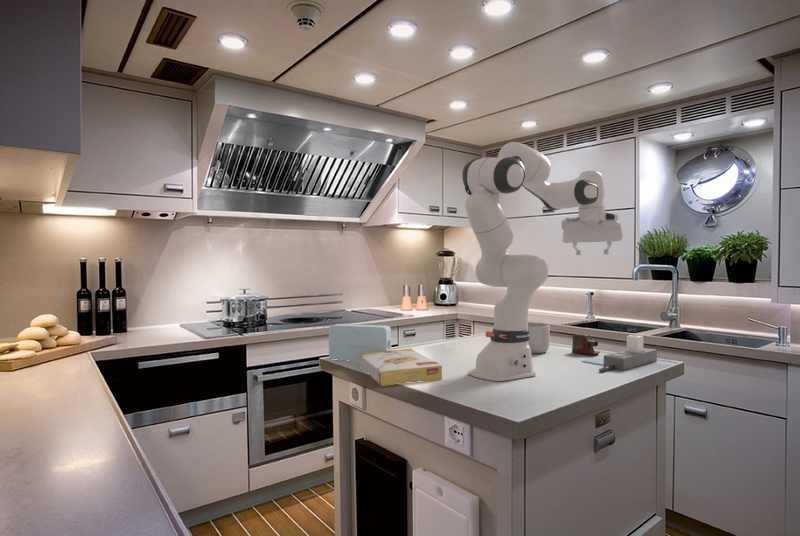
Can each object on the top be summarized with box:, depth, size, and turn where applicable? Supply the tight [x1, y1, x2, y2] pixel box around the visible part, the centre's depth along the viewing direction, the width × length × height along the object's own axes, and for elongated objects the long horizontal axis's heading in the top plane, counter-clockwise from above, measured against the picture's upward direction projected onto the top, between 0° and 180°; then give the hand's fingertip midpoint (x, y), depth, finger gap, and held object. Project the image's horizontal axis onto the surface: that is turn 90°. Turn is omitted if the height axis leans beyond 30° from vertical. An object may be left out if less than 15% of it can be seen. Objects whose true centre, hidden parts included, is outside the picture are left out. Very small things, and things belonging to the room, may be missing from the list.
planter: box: [528, 322, 551, 354], centre depth 195 cm, size 12×12×11 cm
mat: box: [581, 357, 604, 366], centre depth 175 cm, size 8×8×1 cm
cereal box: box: [358, 348, 443, 387], centre depth 161 cm, size 20×6×28 cm
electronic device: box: [571, 334, 601, 357], centre depth 189 cm, size 4×10×8 cm, turn 44°
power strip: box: [598, 347, 658, 373], centre depth 169 cm, size 33×7×4 cm, turn 128°
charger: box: [626, 334, 644, 353], centre depth 173 cm, size 4×4×7 cm
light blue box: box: [328, 323, 392, 362], centre depth 181 cm, size 23×6×13 cm, turn 71°
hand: (592, 254), depth 177 cm, fingers open, 8 cm apart
